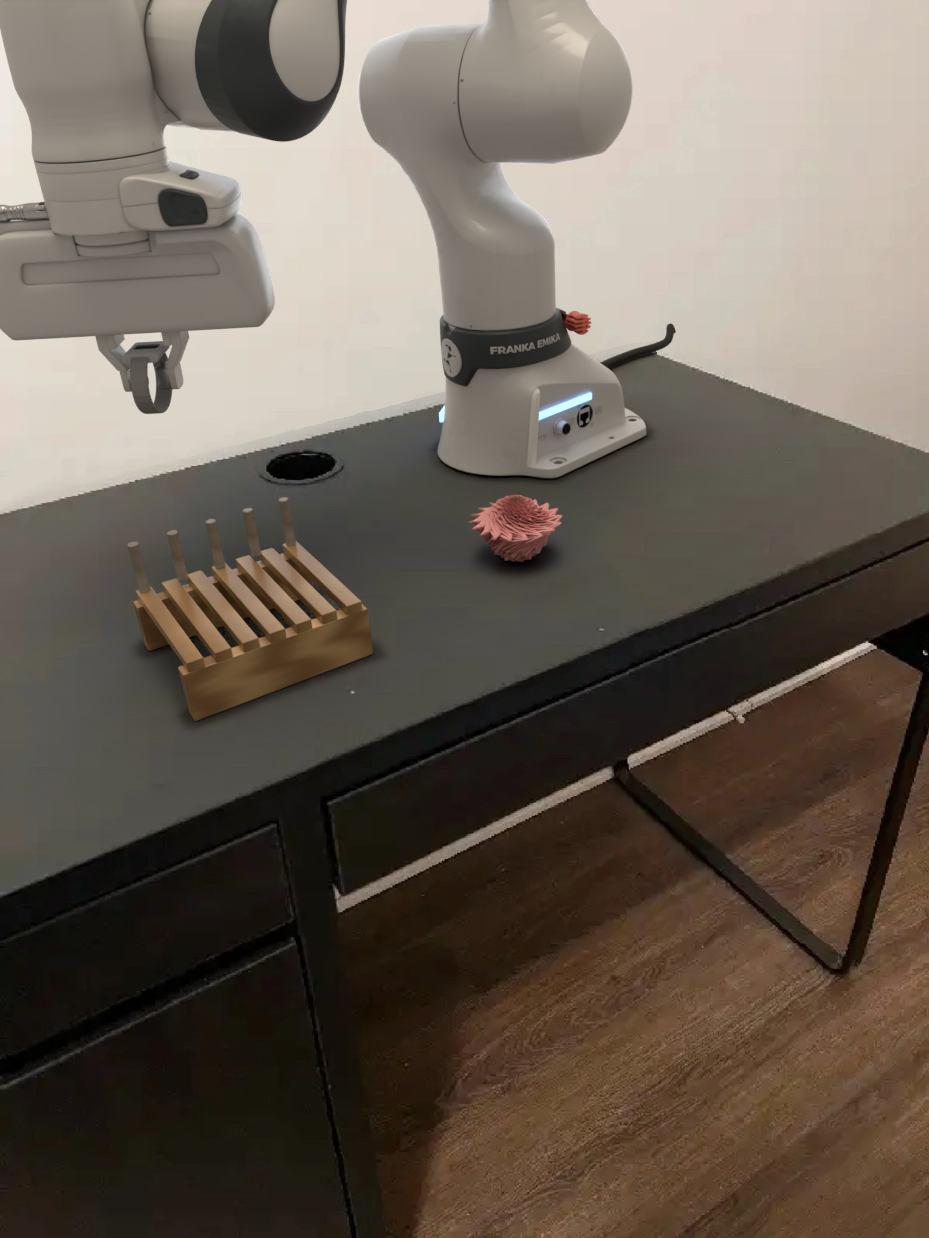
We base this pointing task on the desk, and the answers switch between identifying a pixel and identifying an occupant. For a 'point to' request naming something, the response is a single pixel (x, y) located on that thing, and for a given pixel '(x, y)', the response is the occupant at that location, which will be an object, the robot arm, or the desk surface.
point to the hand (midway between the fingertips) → (155, 388)
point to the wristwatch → (138, 363)
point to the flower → (516, 526)
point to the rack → (250, 595)
